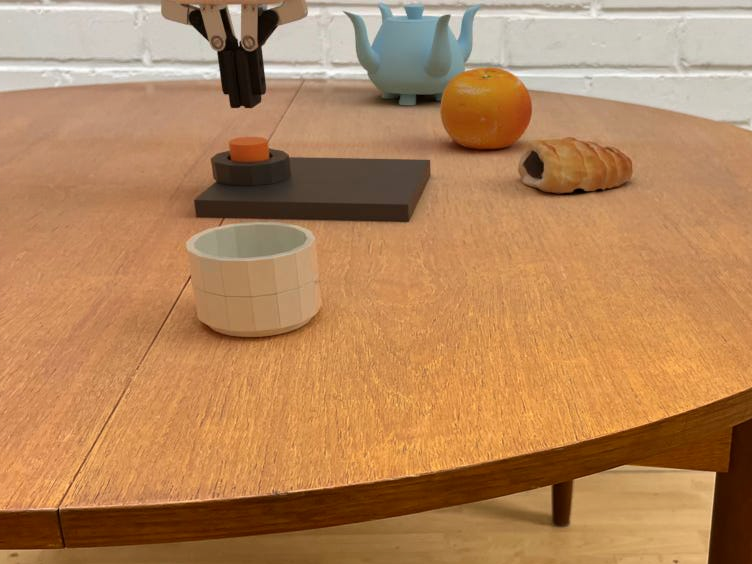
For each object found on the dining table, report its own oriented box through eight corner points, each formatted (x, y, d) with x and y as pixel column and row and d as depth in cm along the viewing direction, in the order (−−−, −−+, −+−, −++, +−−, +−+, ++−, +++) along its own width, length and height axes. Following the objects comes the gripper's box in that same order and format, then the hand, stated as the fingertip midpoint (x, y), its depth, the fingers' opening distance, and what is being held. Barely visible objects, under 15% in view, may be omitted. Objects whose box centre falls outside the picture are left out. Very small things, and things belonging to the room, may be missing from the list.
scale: (190, 218, 72) (184, 177, 71) (243, 172, 84) (238, 136, 82) (408, 223, 71) (407, 182, 70) (430, 176, 83) (429, 140, 82)
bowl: (181, 338, 53) (167, 258, 50) (219, 294, 58) (208, 220, 56) (306, 342, 52) (298, 261, 50) (332, 297, 58) (326, 223, 56)
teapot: (450, 112, 108) (449, 12, 103) (341, 105, 111) (334, 8, 106) (483, 92, 119) (483, 0, 113) (382, 86, 122) (378, -3, 116)
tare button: (226, 165, 75) (223, 144, 75) (237, 156, 78) (234, 136, 77) (264, 165, 75) (261, 145, 74) (273, 157, 78) (271, 137, 77)
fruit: (423, 116, 87) (466, 34, 86) (428, 133, 96) (467, 58, 95) (504, 163, 88) (548, 83, 87) (502, 176, 96) (542, 103, 95)
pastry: (607, 169, 85) (610, 124, 83) (648, 188, 80) (653, 141, 78) (511, 180, 82) (512, 134, 80) (548, 201, 76) (550, 151, 74)
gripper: (331, -181, 68) (351, 97, 77) (123, -179, 69) (168, 95, 78) (307, -189, 61) (332, 115, 71) (78, -186, 62) (133, 114, 72)
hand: (246, 104), depth 74 cm, fingers closed
